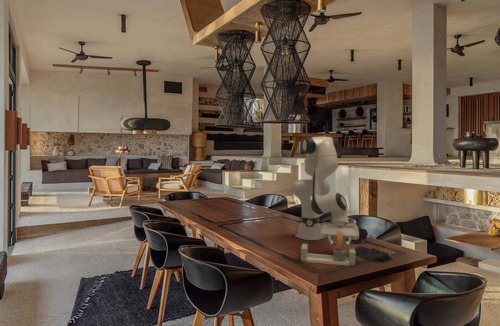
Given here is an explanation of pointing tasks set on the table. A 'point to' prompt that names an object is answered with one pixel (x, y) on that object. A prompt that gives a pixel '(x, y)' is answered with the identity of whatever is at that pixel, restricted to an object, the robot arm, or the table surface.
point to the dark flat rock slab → (372, 254)
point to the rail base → (327, 261)
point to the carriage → (339, 246)
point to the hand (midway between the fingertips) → (339, 244)
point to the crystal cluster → (360, 236)
